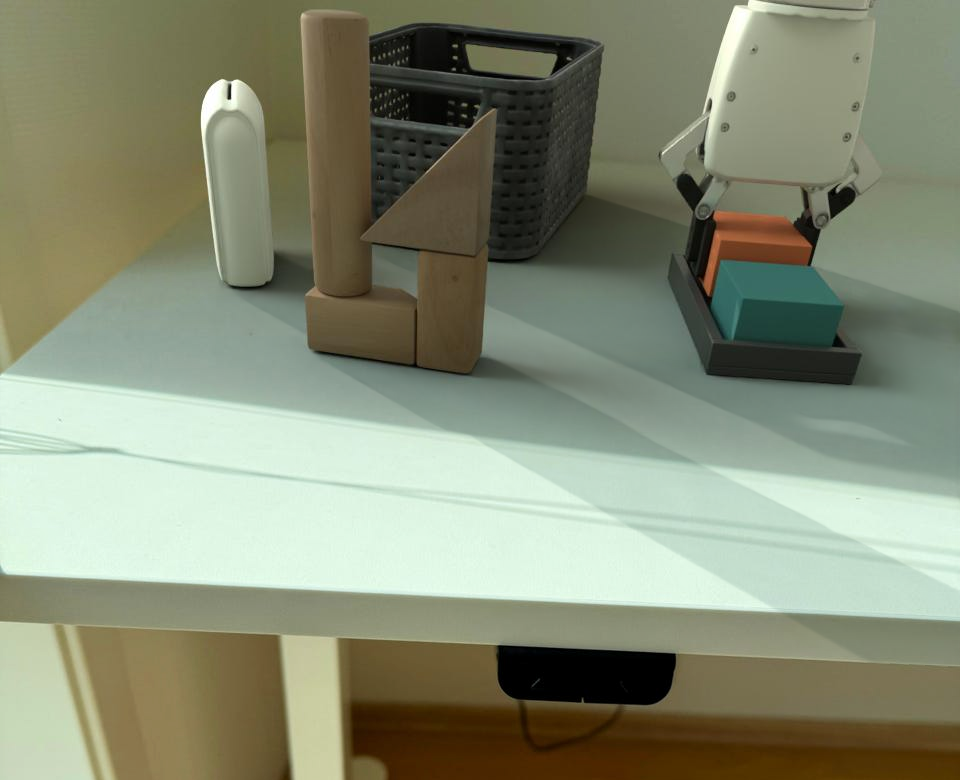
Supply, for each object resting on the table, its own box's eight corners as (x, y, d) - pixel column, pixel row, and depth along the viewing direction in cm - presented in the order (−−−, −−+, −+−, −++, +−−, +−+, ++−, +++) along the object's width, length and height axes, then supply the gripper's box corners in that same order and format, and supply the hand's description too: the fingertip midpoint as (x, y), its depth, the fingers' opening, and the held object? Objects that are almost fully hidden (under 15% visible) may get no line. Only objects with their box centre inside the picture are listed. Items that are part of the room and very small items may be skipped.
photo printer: (219, 246, 74) (200, 68, 66) (274, 247, 75) (260, 70, 67) (215, 289, 66) (192, 93, 59) (276, 289, 67) (261, 95, 59)
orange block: (772, 269, 73) (786, 216, 71) (796, 304, 67) (812, 246, 64) (691, 263, 73) (702, 209, 70) (708, 297, 67) (720, 239, 64)
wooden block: (470, 376, 57) (489, 32, 46) (306, 352, 59) (285, 11, 47) (482, 355, 60) (503, 25, 49) (326, 332, 61) (311, 6, 50)
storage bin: (529, 268, 75) (546, 77, 66) (309, 235, 78) (299, 49, 70) (591, 190, 96) (610, 39, 88) (417, 167, 100) (419, 19, 91)
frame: (667, 278, 75) (672, 251, 74) (783, 286, 75) (790, 259, 74) (706, 374, 60) (713, 342, 58) (852, 384, 60) (862, 353, 59)
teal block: (797, 322, 67) (813, 266, 64) (826, 366, 60) (845, 305, 58) (708, 316, 67) (720, 259, 64) (728, 359, 60) (742, 297, 58)
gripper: (926, -8, 61) (842, 269, 73) (669, -29, 61) (625, 252, 72) (969, 2, 56) (871, 301, 67) (685, -21, 55) (634, 283, 66)
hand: (743, 273), depth 69 cm, fingers closed on orange block, 6 cm apart
